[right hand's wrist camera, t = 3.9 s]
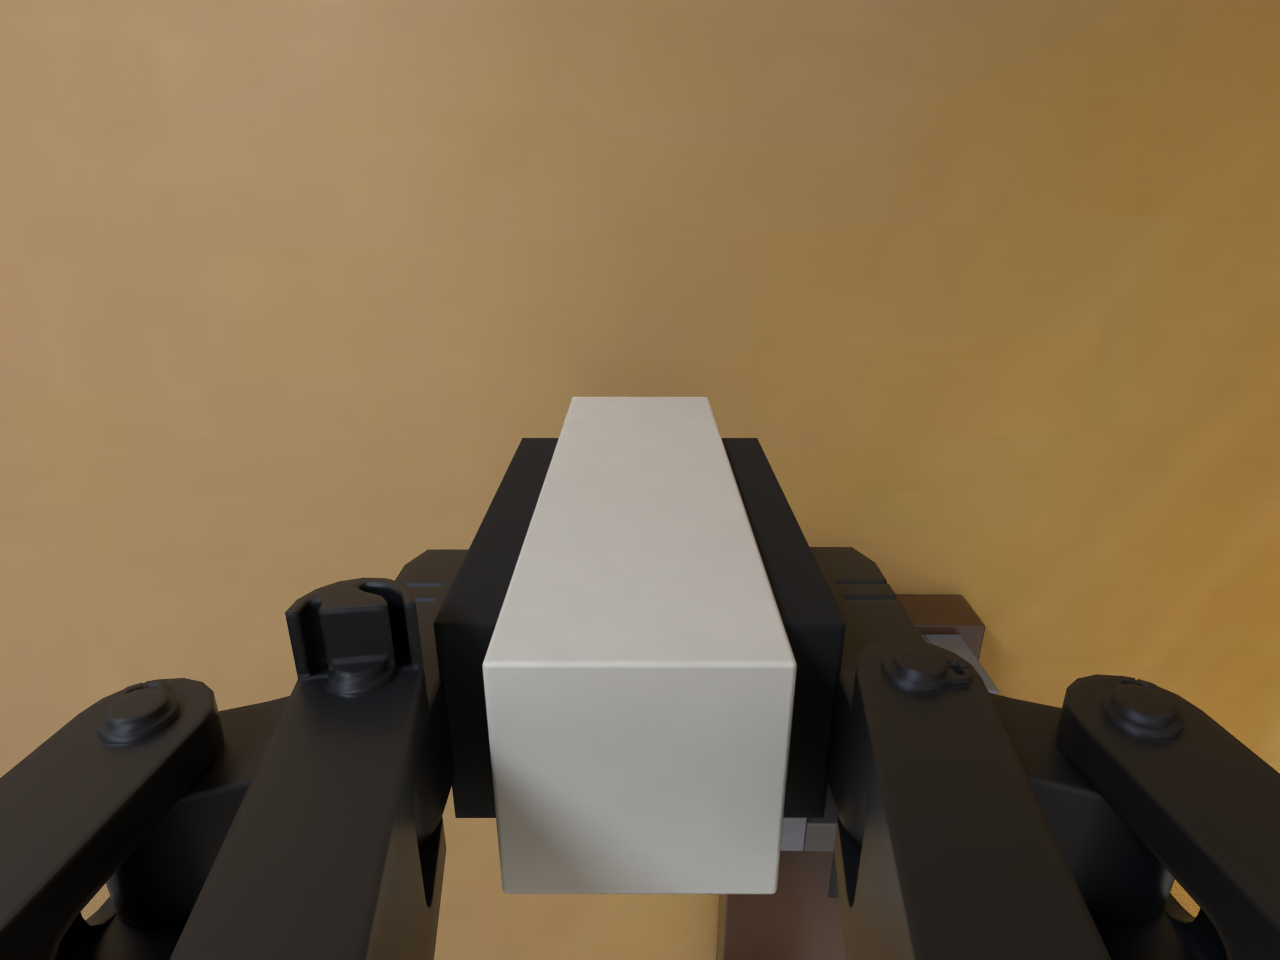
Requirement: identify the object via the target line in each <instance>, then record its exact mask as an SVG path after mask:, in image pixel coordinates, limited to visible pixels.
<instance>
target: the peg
mask: <svg viewBox="0 0 1280 960" xmlns="http://www.w3.org/2000/svg"><path fill="white" fill-rule="evenodd" d="M482 666H483V677H484V689H485V700H486V711H487V722H488V733H489V744H490V755H491V766H492V777H493V789H494V800H495V811H496V822H497V833H498V844H499V855H500V866H501V877H502V888H503V891H504V893H506V894H774V893H775V892H776V890H777V883H778V872H779V860H780V849H781V838H782V827H783V816H784V805H785V793H786V782H787V771H788V760H789V749H790V738H791V726H792V715H793V704H794V693H795V682H796V671H797V664H796V661H795V658H794V655H793V652H792V649H791V646H790V643H789V640H788V637H787V634H786V631H785V628H784V625H783V622H782V619H781V616H780V613H779V610H778V607H777V604H776V601H775V598H774V595H773V592H772V589H771V586H770V583H769V580H768V577H767V574H766V571H765V568H764V565H763V562H762V559H761V556H760V553H759V550H758V547H757V544H756V541H755V538H754V535H753V532H752V529H751V526H750V523H749V520H748V517H747V514H746V511H745V508H744V505H743V502H742V499H741V496H740V493H739V490H738V486H737V483H736V480H735V477H734V474H733V471H732V468H731V465H730V462H729V459H728V456H727V453H726V450H725V447H724V444H723V441H722V438H721V435H720V432H719V429H718V426H717V423H716V420H715V417H714V414H713V411H712V408H711V405H710V402H709V399H708V397H573V398H572V401H571V404H570V407H569V410H568V413H567V416H566V419H565V422H564V425H563V428H562V430H561V433H560V436H559V439H558V442H557V445H556V448H555V451H554V454H553V457H552V460H551V463H550V466H549V469H548V472H547V475H546V478H545V481H544V484H543V487H542V490H541V493H540V496H539V499H538V502H537V505H536V508H535V511H534V514H533V517H532V519H531V522H530V525H529V528H528V531H527V534H526V537H525V540H524V543H523V546H522V549H521V552H520V555H519V558H518V561H517V564H516V567H515V570H514V573H513V576H512V579H511V582H510V585H509V588H508V591H507V594H506V597H505V600H504V603H503V605H502V608H501V611H500V614H499V617H498V620H497V623H496V626H495V629H494V632H493V635H492V638H491V641H490V644H489V647H488V650H487V653H486V656H485V659H484V662H483V665H482Z"/></svg>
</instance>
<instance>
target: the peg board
mask: <svg viewBox="0 0 1280 960" xmlns="http://www.w3.org/2000/svg"><path fill="white" fill-rule="evenodd" d="M896 600H899V601H900V603H901V604H902V606H903V607H904V609H905V610H906V612H907V613H908V615H909V617H910V618H911V620H912V621H913V623H914V624H915V626H916V628H917V629H918V631H919V632H920V634H921V635H922V637H923V639H924V640H925V642H926V643H931V644H933V645H936V646H938V647H941V648H944V649H946V650H949V651H951V652H954V653H955V654H957V655H958V656H960V657H961V658H963V659H964V660H966V661H967V662H969V663H970V664H971V665H972V666H973V667H974V669H975V670H976V671H977V672H978V674H979V675H980V676H981V678H982V679H983V681H984V684H985V686H986V688H987V690H988V692H990V693H993V694H997V695H998V693H999V691H998V689H997V688H996V686H995V685H994V683H993V682H992V680H991V679H990V677H989V676H988V674H987V673H986V672H985V670H984V669H983V667H982V666H981V664H980V663H979V656H980V651H981V646H982V641H983V636H984V631H985V625H984V623H983V622H982V621H981V619H980V618H979V617H978V616H977V614H976V613H975V612H974V610H973V609H972V608H971V606H970V605H969V604H968V602H967V601H966V600H965V598H964V597H963V596H950V595H896ZM837 818H838V812H837V809H836V806H835V803H834V800H833V796H832V793H831V790H830V787H829V784H828V786H827V794H826V803H825V812H824V818H783V827H782V838H781V849H780V860H779V872H778V883H777V890H776V892H775V893H774V894H720V900H719V918H718V937H717V955H716V960H846V951H845V942H844V934H843V925H842V916H841V907H840V898H839V893H838V898H831V897H828V891H829V883H830V875H831V867H832V859H833V851H834V843H835V835H836V826H837Z"/></svg>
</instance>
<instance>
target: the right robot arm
mask: <svg viewBox="0 0 1280 960" xmlns="http://www.w3.org/2000/svg"><path fill="white" fill-rule="evenodd" d="M558 439H559V438H522V440H521V442H520V445H519V447H518V449H517V451H516V453H515V455H514V457H513V459H512V461H511V463H510V465H509V467H508V469H507V472H506V474H505V476H504V478H503V480H502V482H501V484H500V486H499V488H498V490H497V492H496V494H495V496H494V498H493V501H492V503H491V505H490V507H489V509H488V511H487V513H486V515H485V517H484V519H483V521H482V523H481V525H480V528H479V530H478V532H477V534H476V536H475V538H474V540H473V542H472V544H471V546H470V548H469V550H427V551H425V552H424V553H422V554H421V555H419V556H418V557H416V558H415V559H413V560H412V561H410V562H409V563H407V564H406V565H405V566H404V567H403V569H402V570H401V572H400V574H399V575H398V577H397V578H396V580H395V581H394V580H390V579H386V578H359V579H353V580H346V581H340V582H336V583H333V584H330V585H327V586H324V587H321V588H318V589H316V590H314V591H312V592H310V593H308V594H307V595H305V596H303V597H301V598H300V599H298V600H296V602H295V603H294V604H293V605H292V606H291V607H290V608H289V609H288V610H287V611H286V612H285V614H286V620H287V625H288V630H289V635H290V640H291V645H292V650H293V655H294V660H295V665H296V670H297V675H298V680H297V683H296V685H295V687H294V689H293V691H292V694H291V695H290V696H288V697H284V698H280V699H276V700H273V701H269V702H264V703H259V704H254V705H249V706H244V707H239V708H234V709H229V710H224V711H219V712H218V709H217V704H216V700H215V696H214V692H213V691H212V690H211V689H210V688H209V687H208V686H206V685H205V684H204V683H203V682H200V681H195V680H190V679H186V678H177V679H161V680H153V681H147V682H146V683H139V684H136V685H132V686H129V687H127V688H125V689H123V690H121V691H119V692H117V693H114V694H112V695H110V696H107V697H105V698H103V699H101V700H100V701H98V702H97V703H95V704H93V705H92V706H90V707H89V708H87V709H86V710H84V711H83V712H81V713H80V714H78V715H77V716H76V717H75V718H73V719H72V720H71V721H70V722H69V723H67V724H66V725H65V726H64V727H62V728H61V729H60V730H59V731H58V732H56V733H55V734H54V735H53V736H51V737H50V738H49V739H48V740H47V741H45V742H44V743H43V744H42V745H40V746H39V747H38V748H37V749H36V750H34V751H33V752H32V753H31V754H29V755H28V756H27V757H26V758H25V759H23V760H22V761H21V762H20V763H19V764H17V765H16V766H15V767H14V768H12V769H11V770H10V771H9V772H8V773H6V774H5V775H4V776H3V777H1V778H0V960H434V953H435V944H436V935H437V926H438V917H439V909H440V900H441V891H442V882H443V873H444V864H445V855H446V843H445V835H444V826H443V818H442V814H443V811H444V808H445V805H446V802H447V799H448V796H449V792H450V789H451V786H452V790H453V799H454V807H455V816H456V818H496V811H495V800H494V789H493V777H492V766H491V755H490V744H489V733H488V722H487V711H486V700H485V689H484V677H483V666H482V665H483V662H484V659H485V656H486V653H487V650H488V647H489V644H490V641H491V638H492V635H493V632H494V629H495V626H496V623H497V620H498V617H499V614H500V611H501V608H502V605H503V603H504V600H505V597H506V594H507V591H508V588H509V585H510V582H511V579H512V576H513V573H514V570H515V567H516V564H517V561H518V558H519V555H520V552H521V549H522V546H523V543H524V540H525V537H526V534H527V531H528V528H529V525H530V522H531V519H532V517H533V514H534V511H535V508H536V505H537V502H538V499H539V496H540V493H541V490H542V487H543V484H544V481H545V478H546V475H547V472H548V469H549V466H550V463H551V460H552V457H553V454H554V451H555V448H556V445H557V442H558ZM722 441H723V444H724V447H725V450H726V453H727V456H728V459H729V462H730V465H731V468H732V471H733V474H734V477H735V480H736V483H737V486H738V490H739V493H740V496H741V499H742V502H743V505H744V508H745V511H746V514H747V517H748V520H749V523H750V526H751V529H752V532H753V535H754V538H755V541H756V544H757V547H758V550H759V553H760V556H761V559H762V562H763V565H764V568H765V571H766V574H767V577H768V580H769V583H770V586H771V589H772V592H773V595H774V598H775V601H776V604H777V607H778V610H779V613H780V616H781V619H782V622H783V625H784V628H785V631H786V634H787V637H788V640H789V643H790V646H791V649H792V652H793V655H794V658H795V661H796V664H797V671H796V682H795V693H794V704H793V715H792V726H791V738H790V749H789V760H788V771H787V782H786V793H785V805H784V816H783V818H824V812H825V803H826V794H827V786H828V784H829V787H830V790H831V793H832V796H833V800H834V803H835V806H836V809H837V812H838V818H837V826H836V835H835V843H834V851H833V859H832V867H831V875H830V883H829V891H828V897H831V898H838V893H839V898H840V907H841V916H842V925H843V934H844V942H845V951H846V960H1280V774H1279V773H1278V772H1277V771H1276V770H1274V769H1273V768H1272V767H1271V766H1270V765H1268V764H1267V763H1266V762H1265V761H1263V760H1262V759H1261V758H1260V757H1258V756H1257V755H1256V754H1255V753H1254V752H1252V751H1251V750H1250V749H1249V748H1247V747H1246V746H1245V745H1244V744H1242V743H1241V742H1240V741H1239V740H1238V739H1236V738H1235V737H1234V736H1233V735H1231V734H1230V733H1229V732H1228V731H1226V730H1225V729H1224V728H1223V727H1222V726H1220V725H1219V724H1218V723H1217V722H1215V721H1214V720H1213V719H1212V718H1210V717H1209V716H1208V715H1207V714H1206V713H1204V712H1203V711H1202V710H1200V709H1199V708H1197V707H1196V706H1194V705H1193V704H1191V703H1190V702H1188V701H1186V700H1185V699H1183V698H1182V697H1180V696H1179V695H1177V694H1174V693H1172V692H1170V691H1167V690H1165V689H1163V688H1160V687H1158V686H1156V685H1155V684H1153V683H1150V682H1147V681H1143V680H1140V679H1138V680H1135V678H1131V677H1125V676H1111V675H1093V676H1088V677H1083V678H1079V679H1077V680H1076V681H1074V682H1073V683H1072V684H1071V685H1070V686H1069V687H1068V688H1067V690H1066V694H1065V698H1064V702H1063V706H1062V708H1058V707H1053V706H1048V705H1043V704H1037V703H1032V702H1027V701H1022V700H1017V699H1012V698H1008V697H1004V696H1001V695H997V694H993V693H990V692H988V690H987V688H986V686H985V684H984V681H983V679H982V678H981V676H980V675H979V674H978V672H977V671H976V670H975V669H974V667H973V666H972V665H971V664H970V663H969V662H967V661H966V660H964V659H963V658H961V657H960V656H958V655H957V654H955V653H954V652H951V651H949V650H946V649H944V648H941V647H938V646H936V645H933V644H931V643H926V642H925V640H924V639H923V637H922V635H921V634H920V632H919V631H918V629H917V628H916V626H915V624H914V623H913V621H912V620H911V618H910V617H909V615H908V613H907V612H906V610H905V609H904V607H903V606H902V604H901V603H900V601H899V600H896V595H895V593H894V592H893V590H892V588H891V587H890V585H889V584H887V581H886V579H885V578H884V576H883V574H882V573H881V571H880V570H879V568H878V567H877V565H876V563H875V562H873V561H872V560H870V559H869V558H867V557H866V556H864V555H863V554H861V553H860V552H858V551H857V550H855V549H854V548H852V547H809V545H808V543H807V541H806V539H805V537H804V535H803V533H802V531H801V529H800V527H799V524H798V522H797V520H796V518H795V516H794V514H793V512H792V510H791V508H790V506H789V504H788V502H787V500H786V497H785V495H784V493H783V491H782V489H781V487H780V485H779V483H778V481H777V479H776V477H775V475H774V473H773V470H772V468H771V466H770V464H769V462H768V460H767V458H766V456H765V454H764V452H763V450H762V448H761V446H760V443H759V441H758V439H757V438H722ZM1175 879H1176V881H1177V882H1178V883H1179V884H1180V885H1181V886H1182V887H1183V888H1184V890H1185V891H1186V892H1187V893H1188V894H1189V895H1190V896H1191V897H1192V899H1193V900H1194V901H1195V902H1196V903H1197V904H1198V905H1199V906H1200V911H1199V913H1198V915H1197V917H1196V918H1195V917H1193V916H1192V915H1191V914H1189V913H1188V912H1187V911H1186V910H1185V909H1184V908H1183V907H1182V906H1181V905H1180V904H1179V903H1178V901H1177V900H1176V899H1175V898H1174V897H1173V896H1172V895H1171V893H1170V891H1171V889H1172V886H1173V883H1174V880H1175ZM105 883H106V885H107V887H108V890H109V893H110V897H109V898H108V899H107V901H106V902H105V903H104V904H103V905H102V906H101V908H100V909H99V910H98V911H97V912H95V913H94V914H93V915H92V916H91V917H89V918H88V919H87V920H86V921H85V920H84V919H83V918H82V915H81V912H80V911H81V910H82V909H83V908H84V907H85V906H86V905H87V904H88V902H89V901H90V900H91V899H92V898H93V897H94V896H95V894H96V893H97V892H98V891H99V890H100V889H101V888H102V887H103V885H104V884H105Z"/></svg>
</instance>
